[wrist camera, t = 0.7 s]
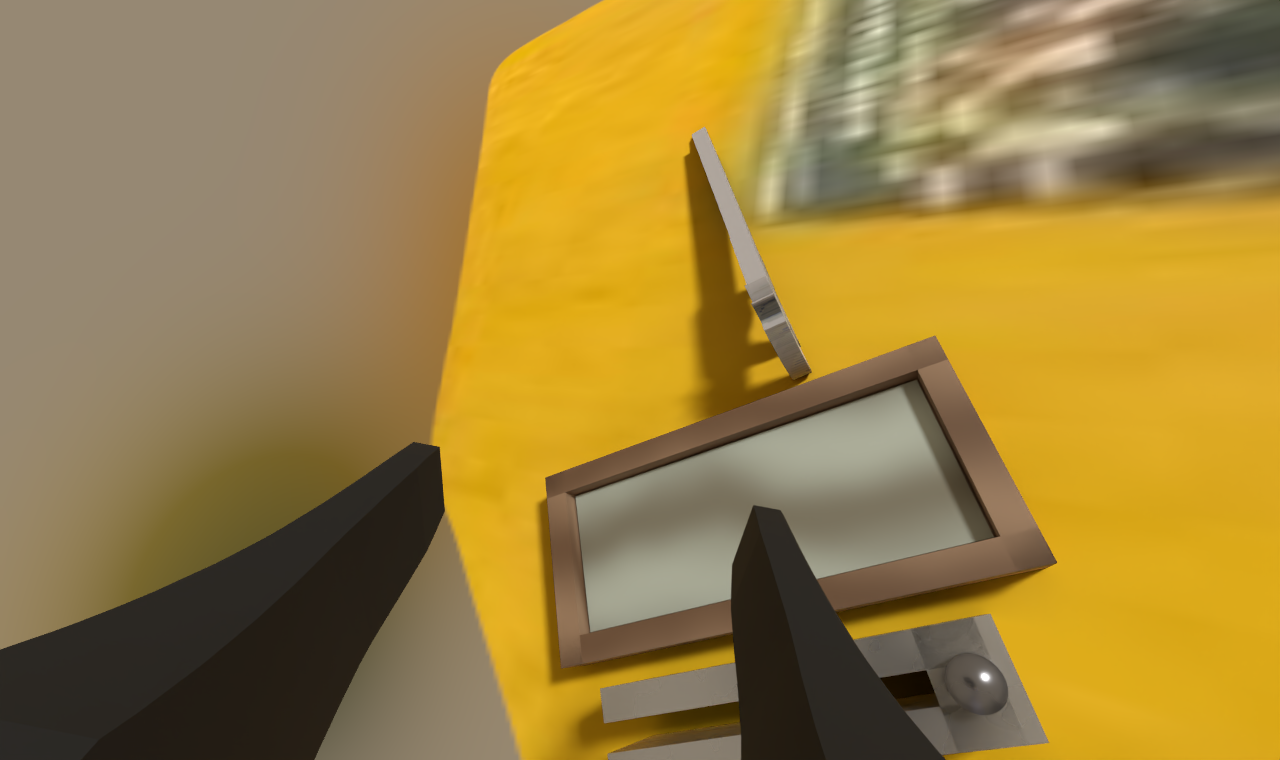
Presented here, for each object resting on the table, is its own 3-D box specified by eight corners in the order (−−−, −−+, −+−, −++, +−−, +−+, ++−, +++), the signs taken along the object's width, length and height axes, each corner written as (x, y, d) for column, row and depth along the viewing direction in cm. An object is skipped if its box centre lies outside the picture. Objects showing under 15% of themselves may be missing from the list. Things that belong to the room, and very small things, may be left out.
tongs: (1029, 721, 18) (1052, 746, 14) (658, 768, 23) (603, 796, 19) (982, 615, 20) (991, 613, 16) (644, 679, 25) (592, 690, 21)
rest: (1047, 567, 19) (1057, 562, 18) (584, 665, 26) (561, 668, 25) (935, 354, 24) (935, 335, 22) (566, 485, 31) (545, 477, 29)
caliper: (815, 376, 27) (786, 319, 21) (795, 385, 27) (761, 330, 22) (707, 131, 37) (670, 53, 32) (693, 140, 37) (654, 64, 32)
